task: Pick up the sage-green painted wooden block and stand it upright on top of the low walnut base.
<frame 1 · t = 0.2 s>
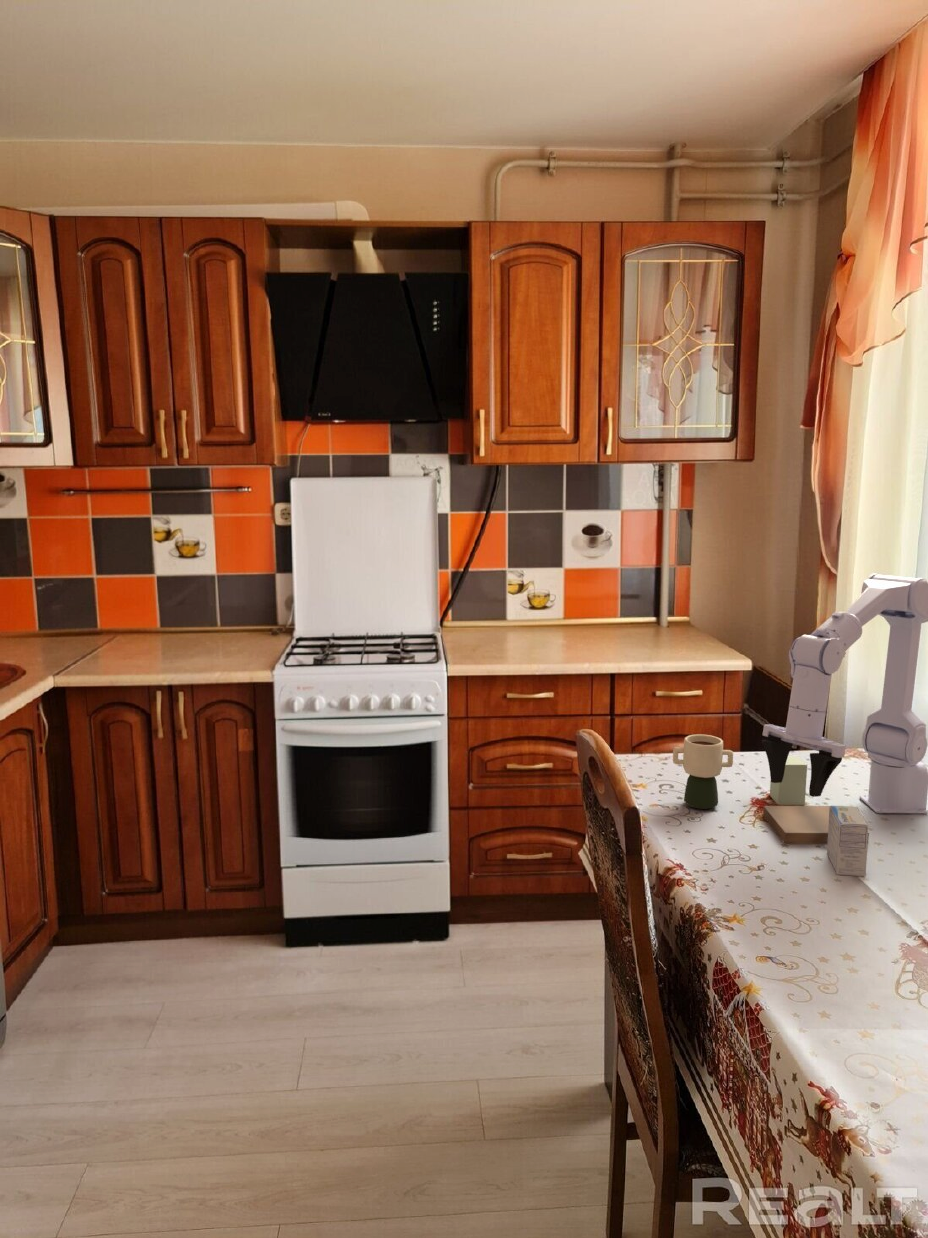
hand: (795, 789, 146), 11 cm above the table, tool pointing down, fingers open, 7 cm apart
walnut base: (813, 829, 156), on the table
beige green trophy cup: (700, 806, 167), on the table
sage block: (786, 800, 170), on the table
medicine box: (845, 866, 142), on the table
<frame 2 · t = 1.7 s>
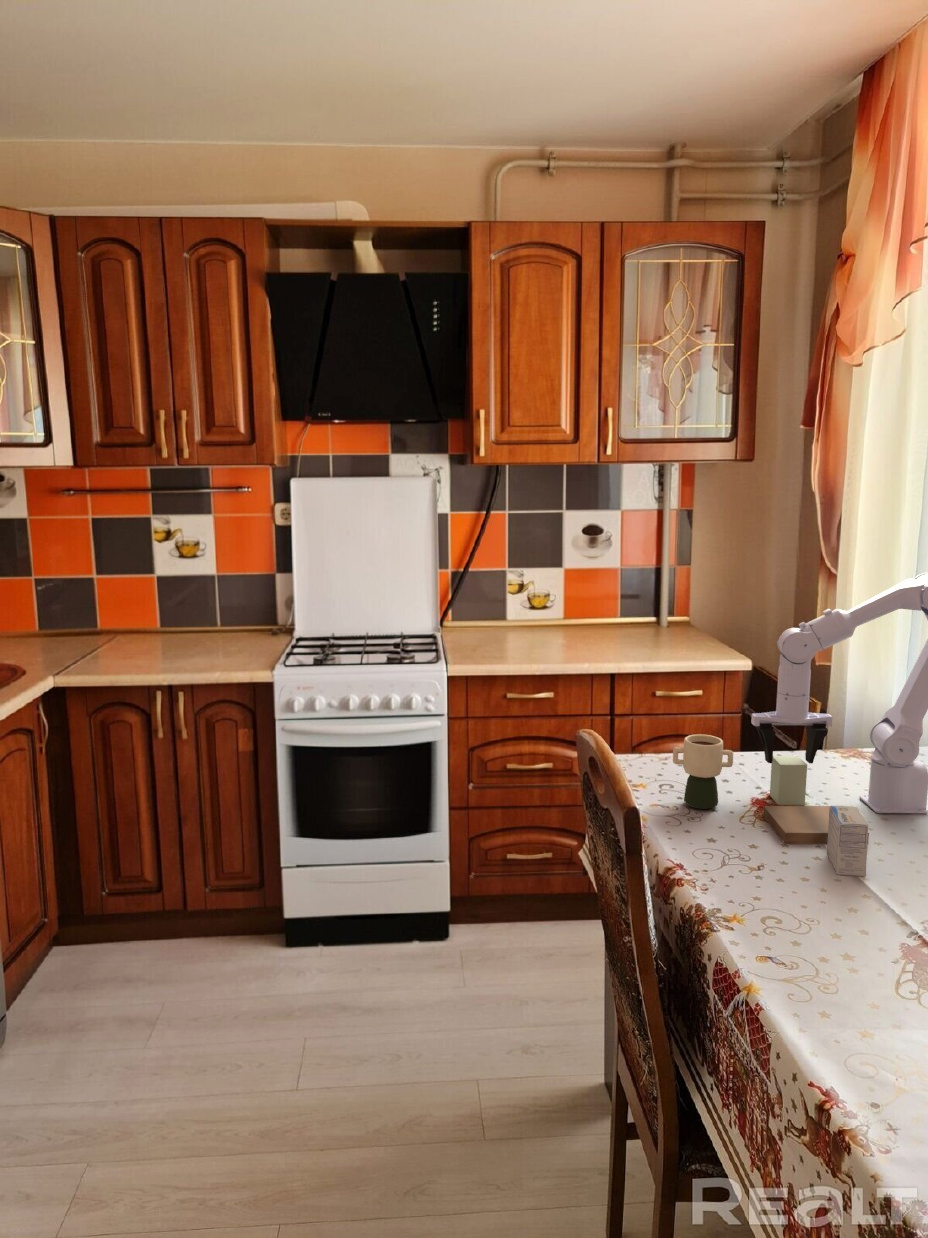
hand: (788, 761, 168), 8 cm above the table, tool pointing down, fingers open, 7 cm apart
nothing on the table moved.
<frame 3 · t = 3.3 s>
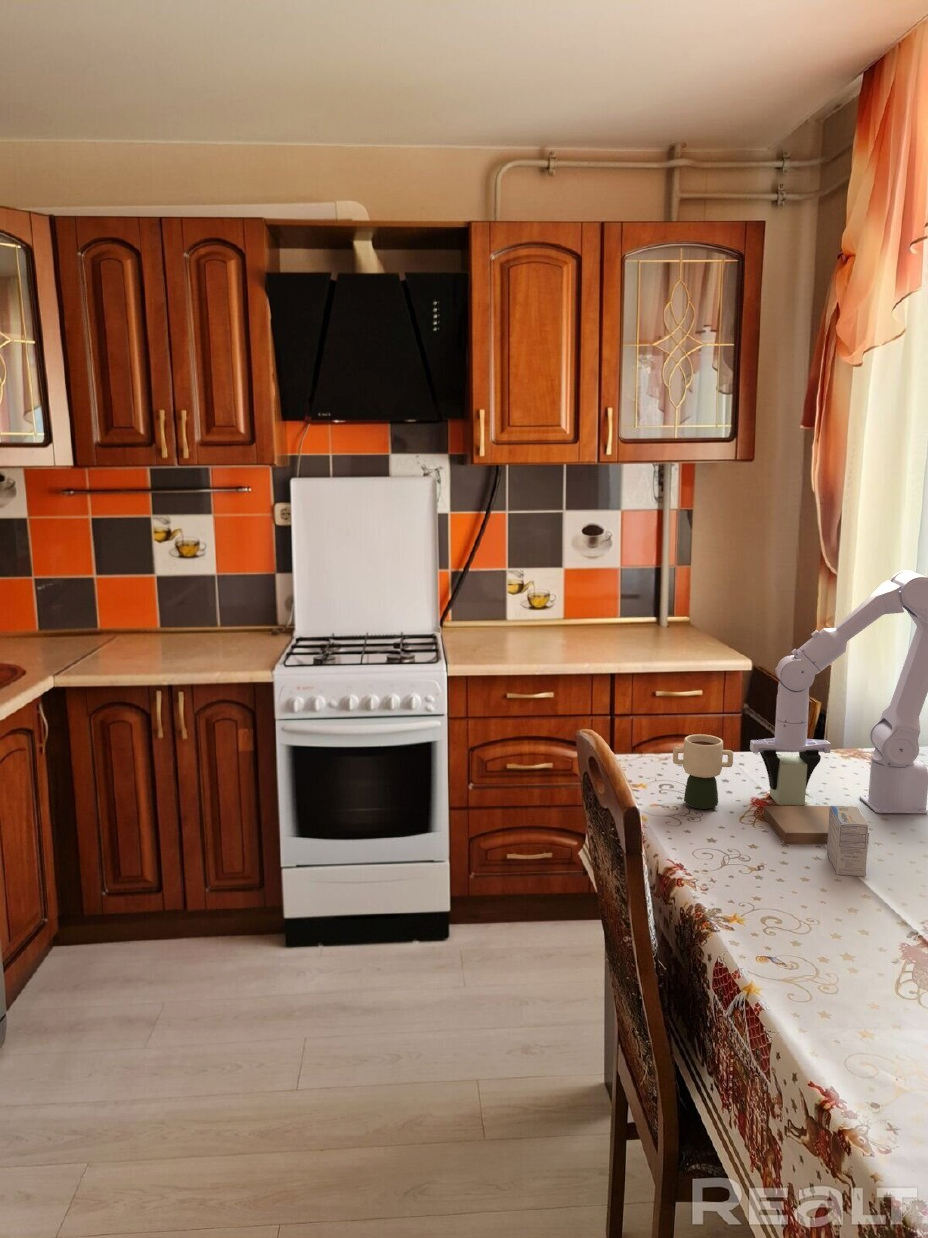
hand: (787, 788, 169), 2 cm above the table, tool pointing down, fingers closed on sage block, 5 cm apart
sage block: (787, 800, 170), on the table, touching gripper
everything else where it was.
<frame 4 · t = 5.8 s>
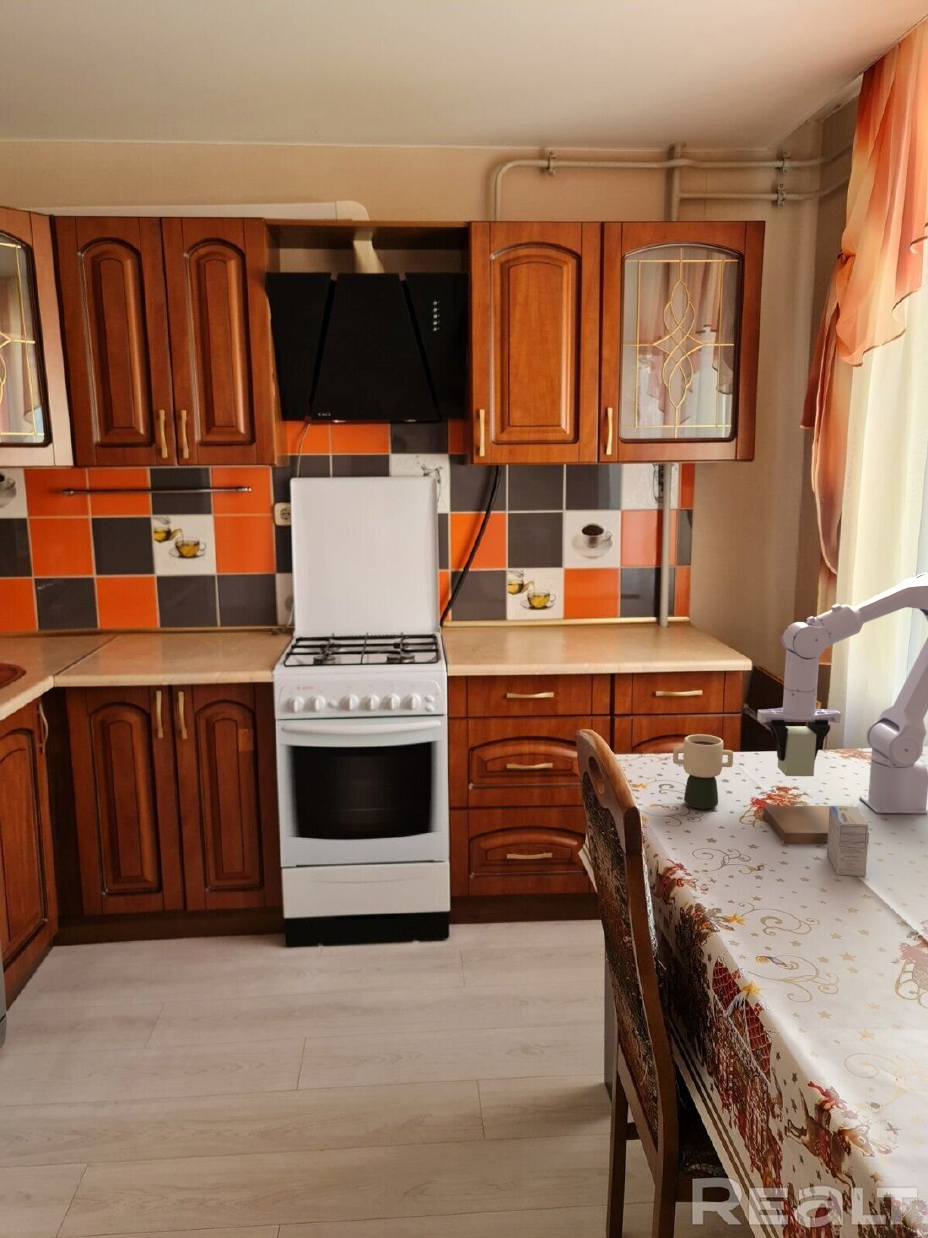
hand: (796, 759, 164), 9 cm above the table, tool pointing down, fingers closed on sage block, 5 cm apart
sage block: (795, 771, 165), point 7 cm above the table, touching gripper
everything else where it was.
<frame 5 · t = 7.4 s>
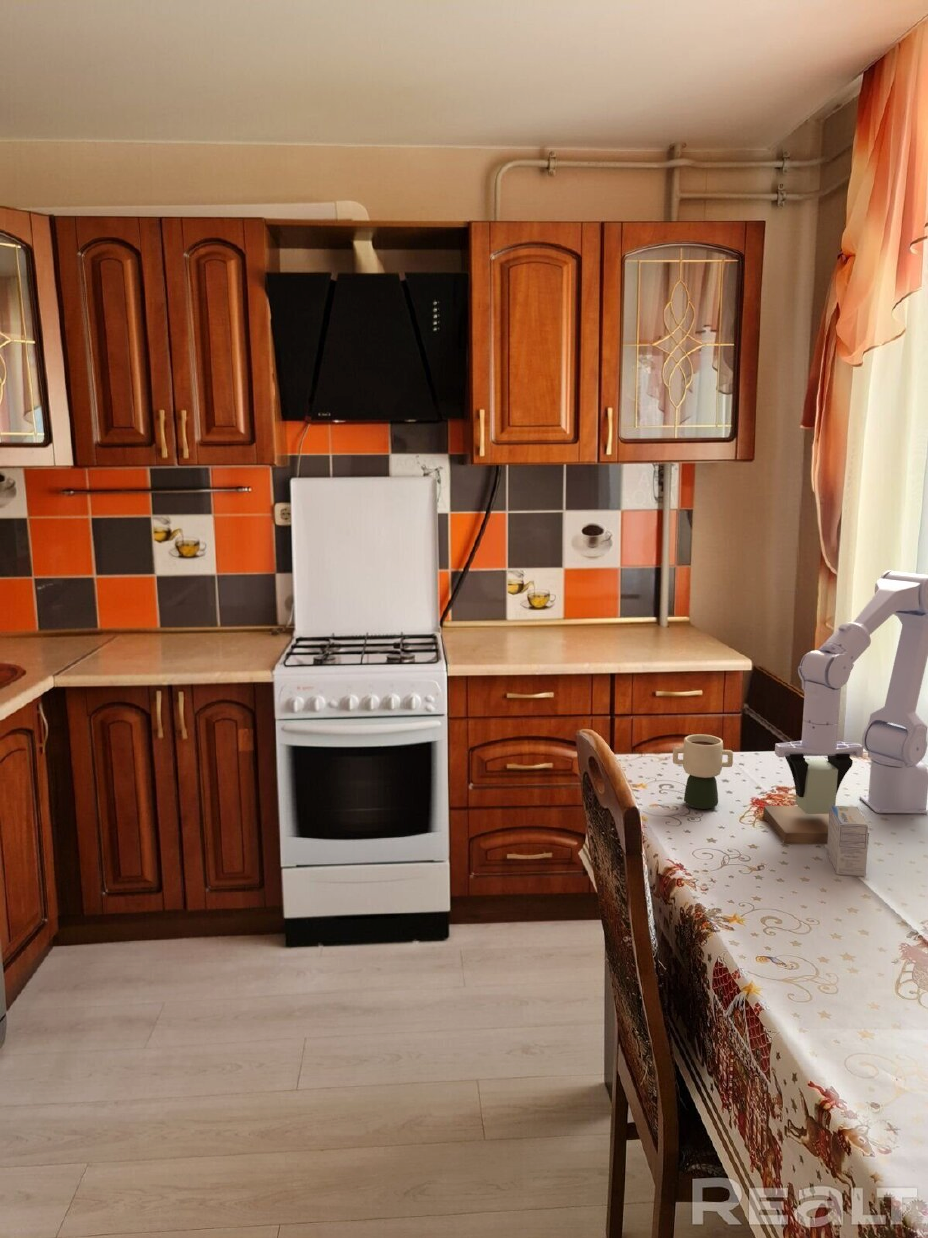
hand: (815, 795, 155), 6 cm above the table, tool pointing down, fingers closed on sage block, 5 cm apart
sage block: (814, 808, 155), point 4 cm above the table, touching gripper
everything else where it was.
when the fingers open (6 cm above the table, at t = 8.8 s): sage block drops 1 cm, resting on walnut base.
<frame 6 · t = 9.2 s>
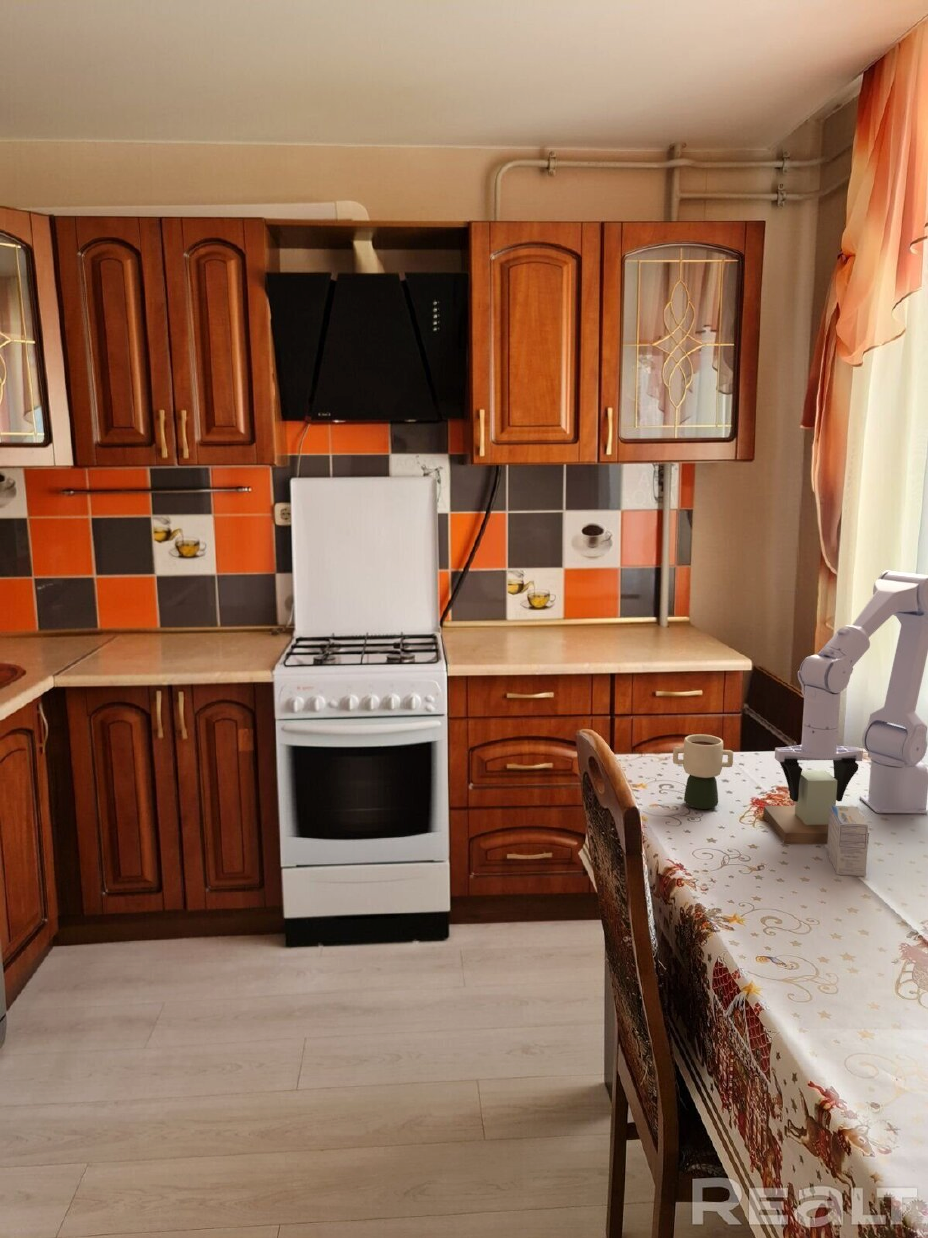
hand: (815, 799, 155), 6 cm above the table, tool pointing down, fingers open, 7 cm apart
sage block: (814, 818, 155), point 2 cm above the table, touching walnut base
everything else where it was.
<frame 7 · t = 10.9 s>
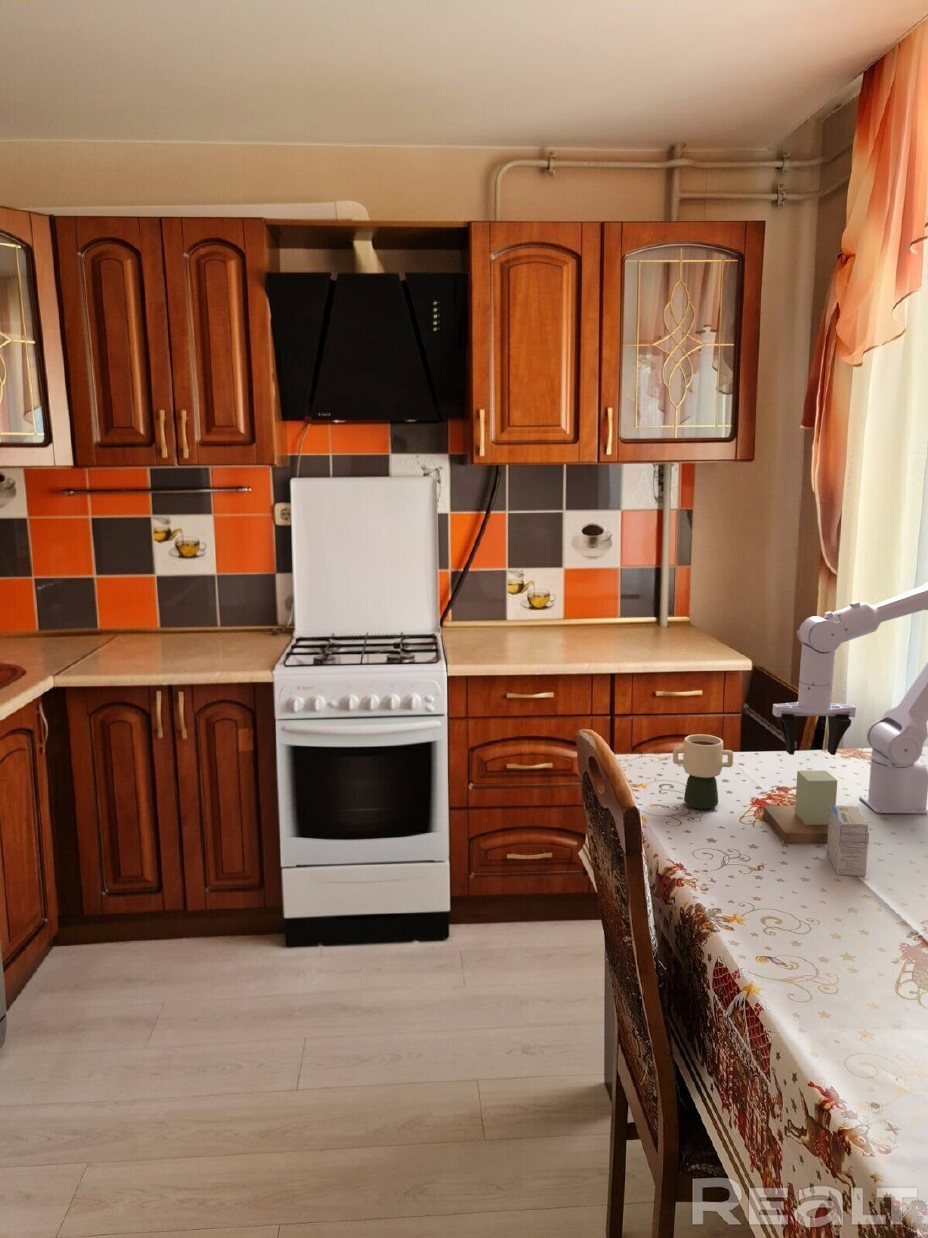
hand: (810, 753, 165), 10 cm above the table, tool pointing down, fingers open, 7 cm apart
nothing on the table moved.
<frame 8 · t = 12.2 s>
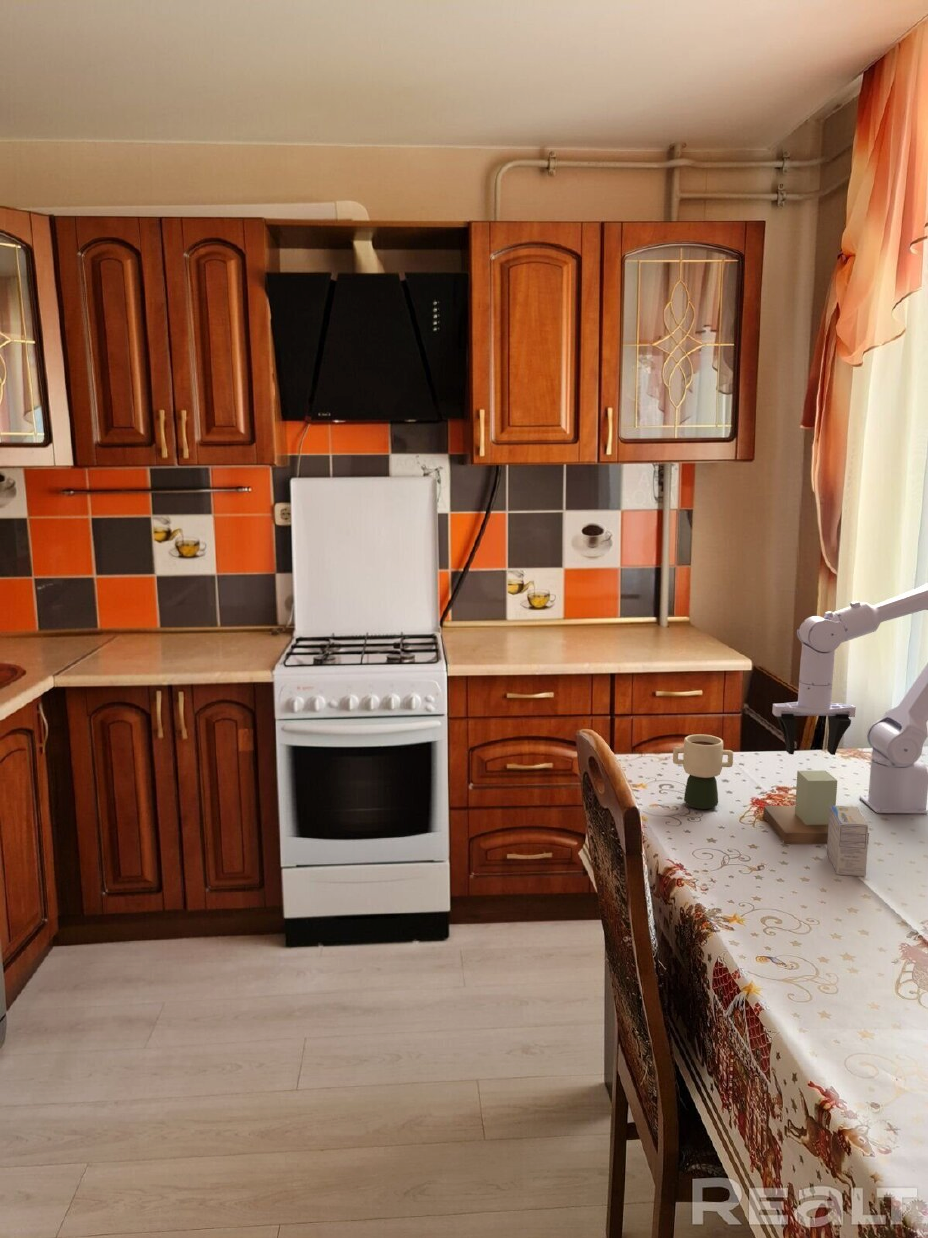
hand: (810, 753, 165), 10 cm above the table, tool pointing down, fingers open, 7 cm apart
nothing on the table moved.
at the end: sage block inside the target area on the walnut base (0.0 cm from its centre), point 2.0 cm above the walnut base's base; sage block tilted 0°; the gripper is holding nothing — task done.
